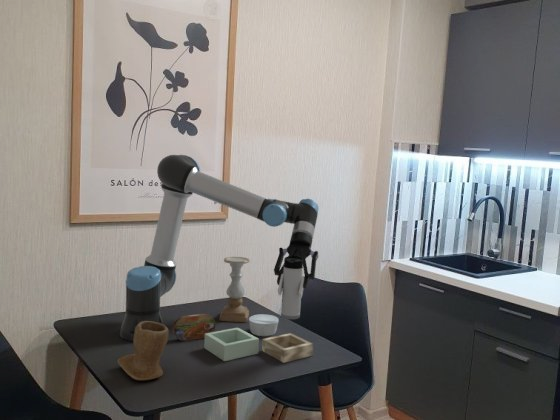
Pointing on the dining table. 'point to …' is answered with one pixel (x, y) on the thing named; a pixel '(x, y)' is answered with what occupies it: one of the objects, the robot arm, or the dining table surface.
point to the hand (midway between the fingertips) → (289, 294)
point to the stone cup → (146, 351)
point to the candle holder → (235, 293)
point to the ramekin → (263, 324)
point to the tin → (193, 326)
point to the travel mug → (291, 287)
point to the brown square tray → (295, 351)
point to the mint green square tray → (231, 344)
